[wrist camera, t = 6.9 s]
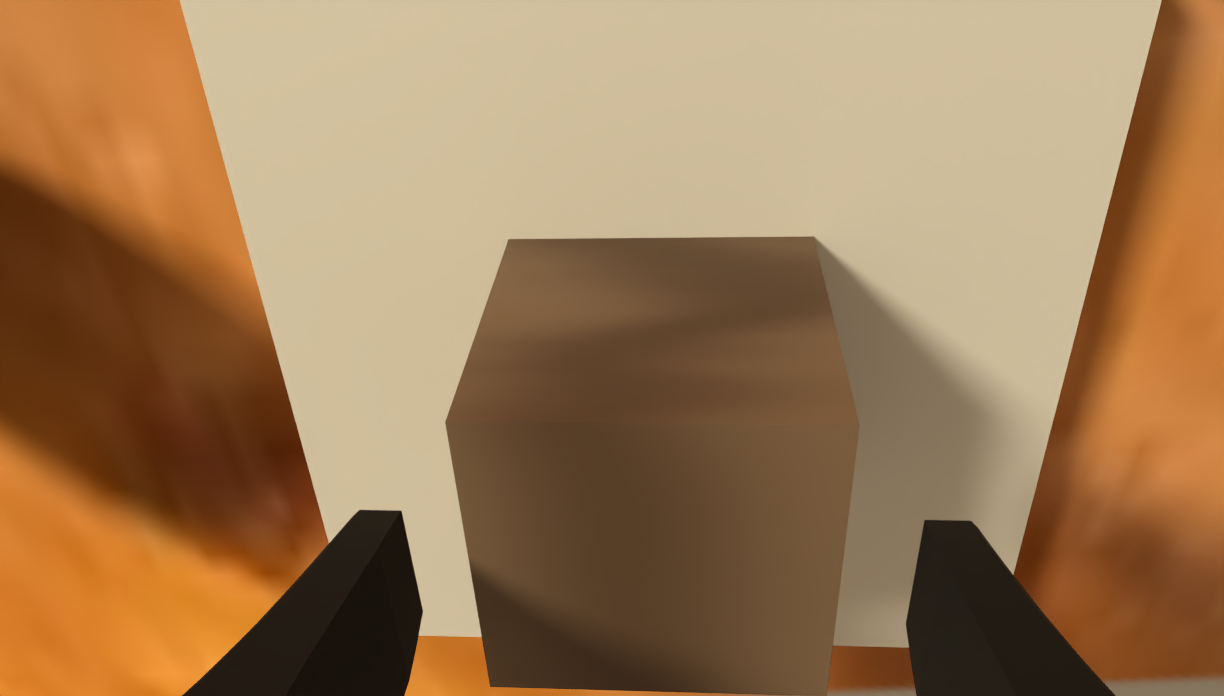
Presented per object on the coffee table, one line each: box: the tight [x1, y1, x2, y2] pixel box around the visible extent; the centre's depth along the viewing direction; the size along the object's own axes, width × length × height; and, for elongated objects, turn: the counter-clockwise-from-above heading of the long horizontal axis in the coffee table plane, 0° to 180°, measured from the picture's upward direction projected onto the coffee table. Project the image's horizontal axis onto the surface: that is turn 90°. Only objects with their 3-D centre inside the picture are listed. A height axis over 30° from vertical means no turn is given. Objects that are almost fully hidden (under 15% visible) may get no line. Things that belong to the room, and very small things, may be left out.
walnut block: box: [445, 236, 860, 696], centre depth 15 cm, size 5×5×5 cm
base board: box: [180, 0, 1162, 648], centre depth 18 cm, size 14×14×2 cm
